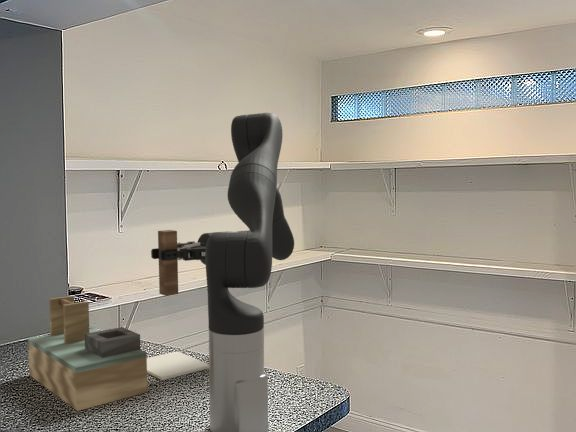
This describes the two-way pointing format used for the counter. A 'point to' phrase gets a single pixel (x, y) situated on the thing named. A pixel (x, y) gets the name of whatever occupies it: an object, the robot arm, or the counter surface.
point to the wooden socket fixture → (86, 358)
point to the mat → (173, 365)
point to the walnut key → (168, 264)
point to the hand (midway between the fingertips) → (156, 254)
